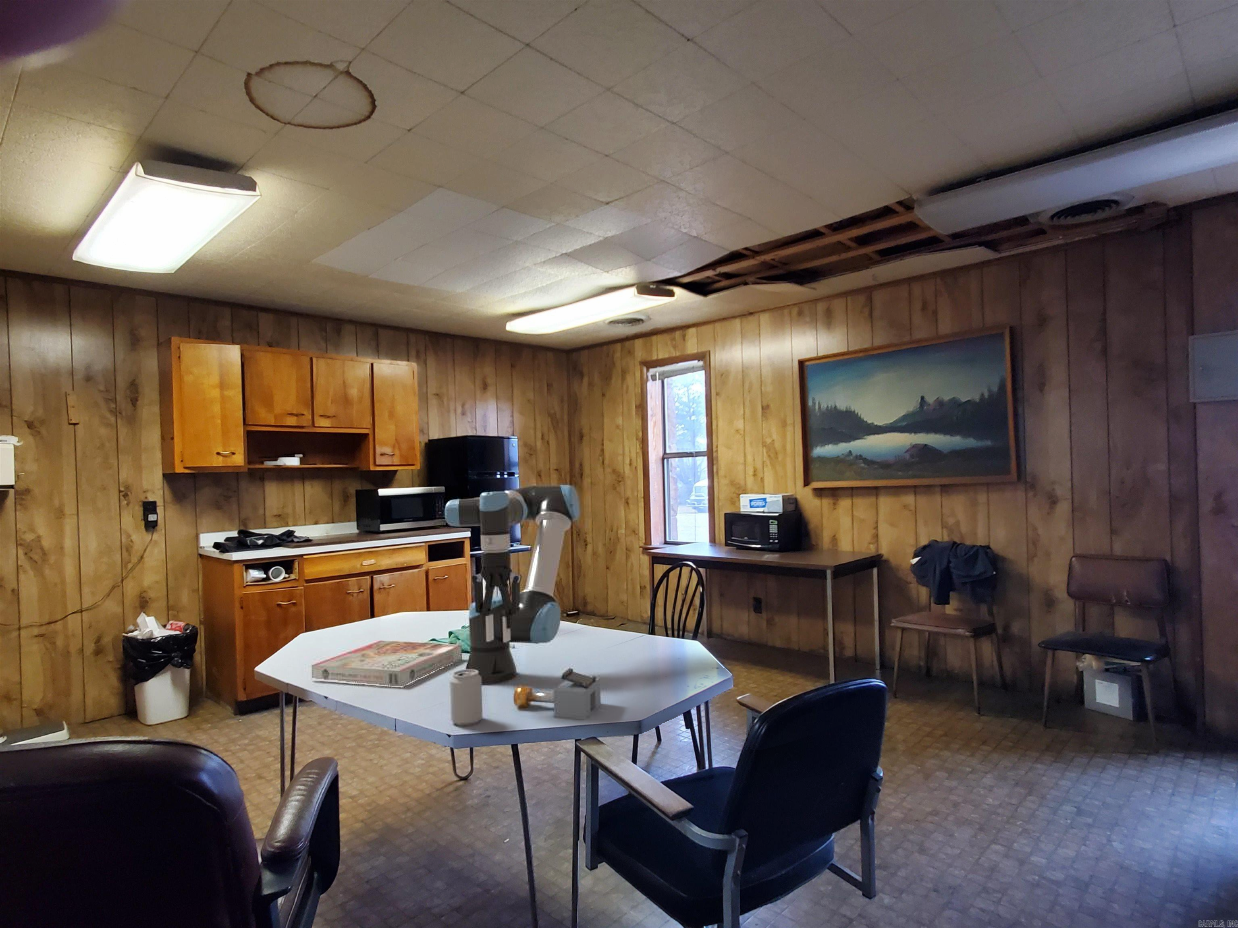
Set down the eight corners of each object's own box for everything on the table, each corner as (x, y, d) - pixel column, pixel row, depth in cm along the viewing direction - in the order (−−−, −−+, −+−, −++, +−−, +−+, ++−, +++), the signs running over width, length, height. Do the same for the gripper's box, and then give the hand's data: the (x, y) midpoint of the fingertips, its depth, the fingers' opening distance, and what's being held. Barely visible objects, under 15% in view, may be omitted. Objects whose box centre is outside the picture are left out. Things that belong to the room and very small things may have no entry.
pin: (513, 708, 178) (513, 688, 178) (522, 702, 183) (521, 683, 183) (561, 711, 174) (560, 691, 174) (568, 705, 179) (568, 685, 179)
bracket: (554, 716, 171) (553, 690, 171) (571, 701, 182) (570, 676, 182) (585, 719, 169) (584, 691, 169) (600, 703, 180) (599, 677, 180)
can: (461, 715, 174) (459, 666, 175) (488, 717, 172) (486, 668, 173) (445, 725, 167) (443, 675, 168) (473, 727, 165) (471, 676, 165)
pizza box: (380, 640, 240) (461, 644, 230) (380, 656, 240) (462, 660, 230) (311, 665, 210) (401, 671, 200) (312, 682, 210) (401, 689, 200)
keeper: (559, 679, 173) (561, 674, 173) (569, 672, 180) (571, 666, 180) (587, 688, 171) (588, 683, 171) (596, 680, 178) (597, 675, 178)
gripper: (459, 552, 181) (461, 642, 181) (519, 552, 176) (522, 645, 176) (473, 549, 188) (475, 636, 188) (531, 549, 184) (534, 638, 183)
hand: (498, 640), depth 182 cm, fingers open, 4 cm apart
